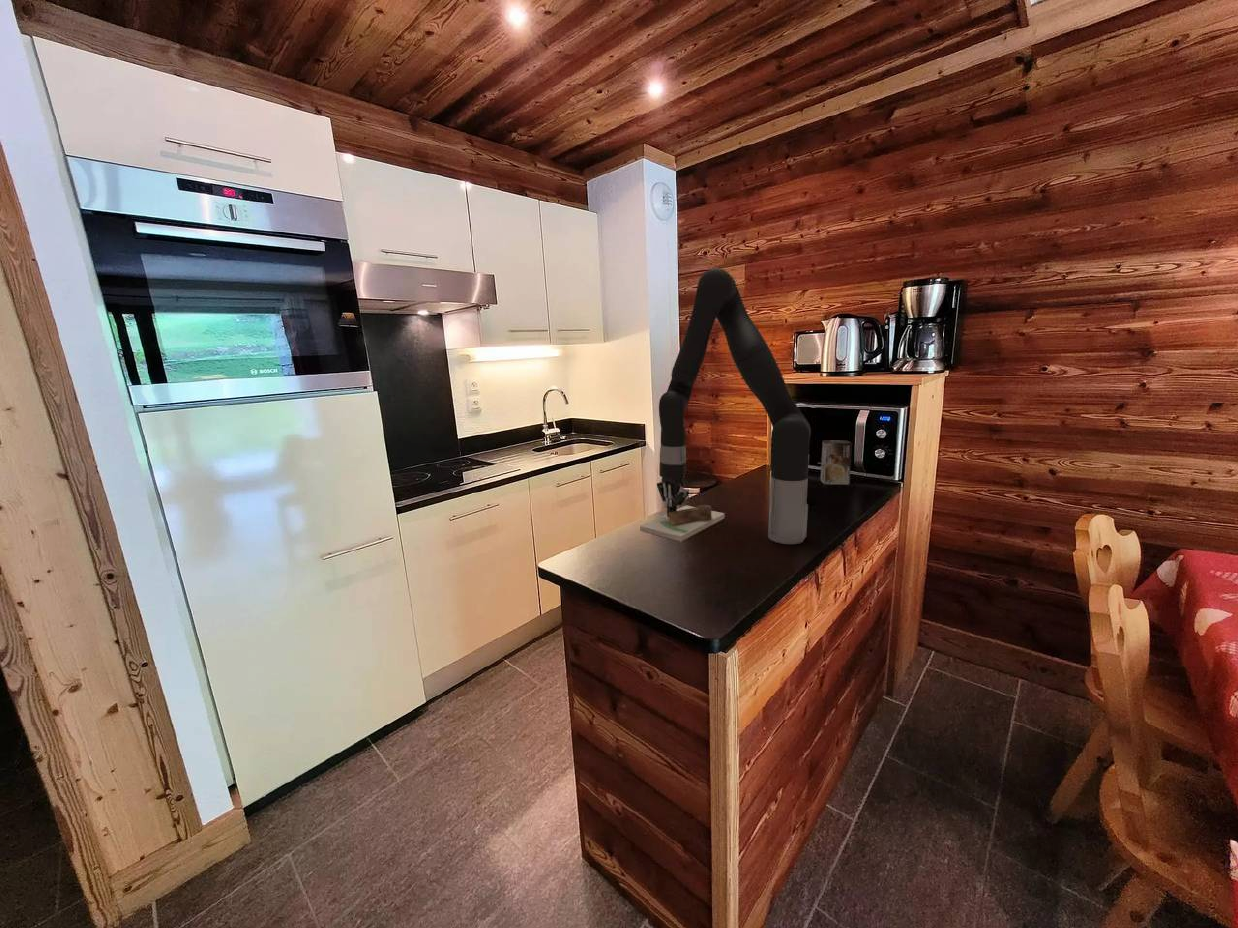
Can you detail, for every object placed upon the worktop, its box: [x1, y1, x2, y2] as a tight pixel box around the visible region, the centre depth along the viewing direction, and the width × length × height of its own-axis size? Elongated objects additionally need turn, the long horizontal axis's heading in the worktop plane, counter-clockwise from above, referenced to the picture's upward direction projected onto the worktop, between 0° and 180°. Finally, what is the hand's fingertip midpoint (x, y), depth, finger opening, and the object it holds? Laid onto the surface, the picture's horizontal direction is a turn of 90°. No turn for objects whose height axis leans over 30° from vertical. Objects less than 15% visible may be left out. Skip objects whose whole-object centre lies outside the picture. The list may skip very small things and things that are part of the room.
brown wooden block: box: [669, 504, 713, 526], centre depth 140 cm, size 14×4×4 cm, turn 115°
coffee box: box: [820, 439, 853, 486], centre depth 182 cm, size 9×6×16 cm
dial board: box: [639, 504, 725, 542], centre depth 143 cm, size 24×14×2 cm, turn 139°
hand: (671, 517), depth 141 cm, fingers closed
